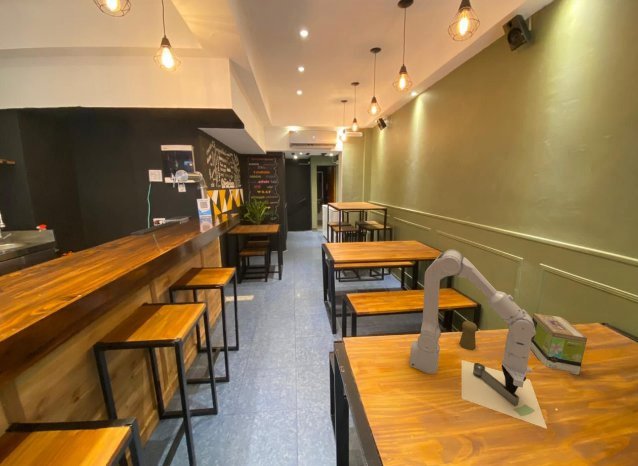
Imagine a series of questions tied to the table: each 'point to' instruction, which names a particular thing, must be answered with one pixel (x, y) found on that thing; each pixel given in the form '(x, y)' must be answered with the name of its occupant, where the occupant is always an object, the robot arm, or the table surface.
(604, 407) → the table surface
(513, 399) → the pointer
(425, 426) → the table surface
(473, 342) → the cork
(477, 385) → the dial board
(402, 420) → the table surface
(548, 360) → the tea box
